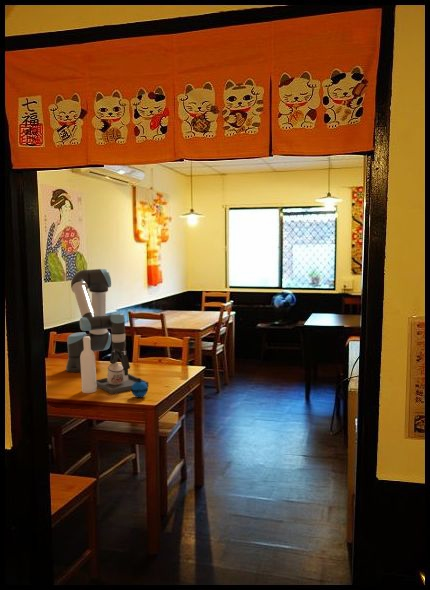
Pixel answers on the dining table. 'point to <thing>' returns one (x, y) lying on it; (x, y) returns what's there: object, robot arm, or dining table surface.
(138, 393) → the ornament
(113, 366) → the teacup with lid
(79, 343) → the robot arm
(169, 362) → the dining table surface
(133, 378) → the serving tray
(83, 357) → the bottle
